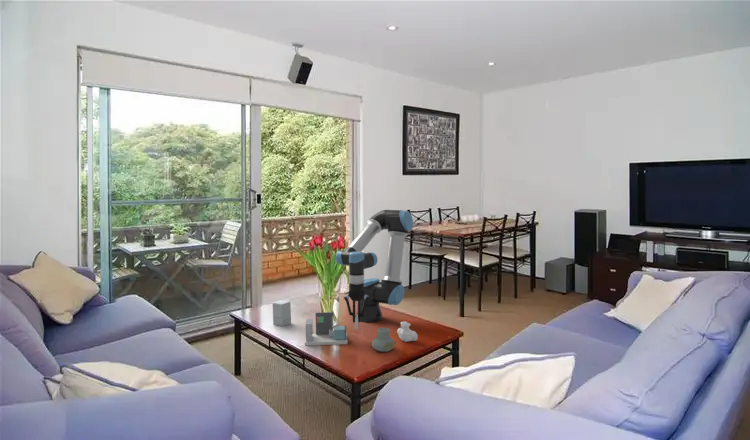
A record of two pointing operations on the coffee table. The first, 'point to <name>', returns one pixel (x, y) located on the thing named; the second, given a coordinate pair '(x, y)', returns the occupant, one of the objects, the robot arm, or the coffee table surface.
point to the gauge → (338, 331)
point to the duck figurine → (406, 333)
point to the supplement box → (281, 313)
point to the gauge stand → (324, 331)
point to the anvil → (309, 330)
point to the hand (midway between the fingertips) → (356, 328)
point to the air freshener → (383, 341)
